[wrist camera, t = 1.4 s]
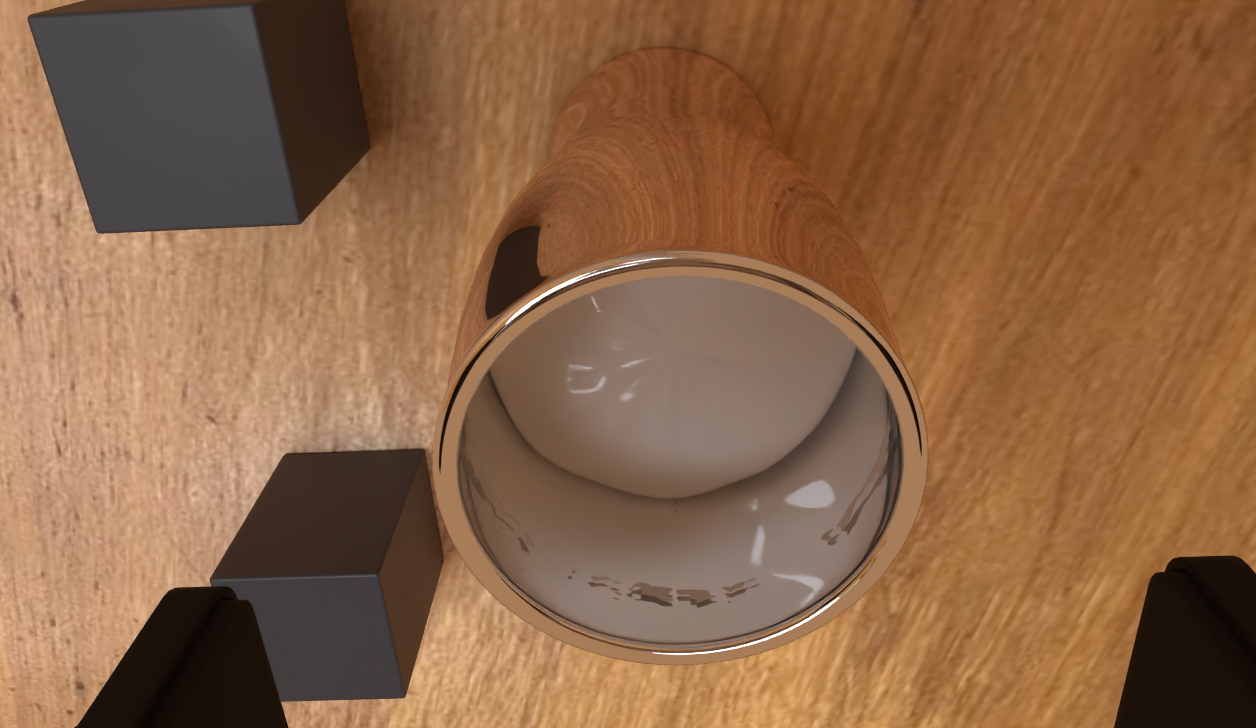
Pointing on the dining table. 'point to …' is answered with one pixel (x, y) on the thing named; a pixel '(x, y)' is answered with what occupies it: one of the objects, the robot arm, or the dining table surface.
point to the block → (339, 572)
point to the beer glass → (676, 384)
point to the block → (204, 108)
